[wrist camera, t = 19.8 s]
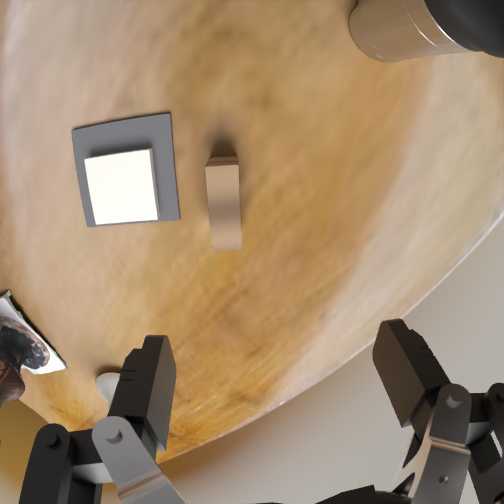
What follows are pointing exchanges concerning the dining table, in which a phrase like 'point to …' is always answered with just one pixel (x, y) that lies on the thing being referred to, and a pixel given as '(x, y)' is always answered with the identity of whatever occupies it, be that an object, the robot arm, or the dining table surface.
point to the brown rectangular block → (224, 203)
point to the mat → (128, 139)
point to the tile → (123, 187)
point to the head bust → (21, 352)
